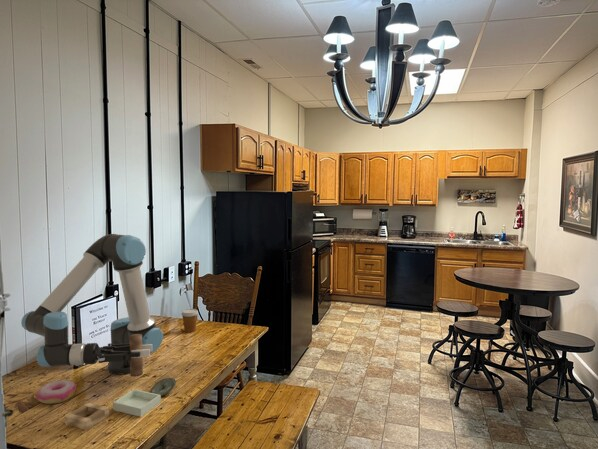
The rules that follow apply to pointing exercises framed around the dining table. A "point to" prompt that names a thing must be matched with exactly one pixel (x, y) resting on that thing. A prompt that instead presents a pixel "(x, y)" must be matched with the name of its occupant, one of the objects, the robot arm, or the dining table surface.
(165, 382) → the lid
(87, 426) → the square wooden peg frame
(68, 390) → the donut
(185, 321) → the disposable coffee cup
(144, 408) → the tray
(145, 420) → the dining table surface
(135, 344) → the dowel
